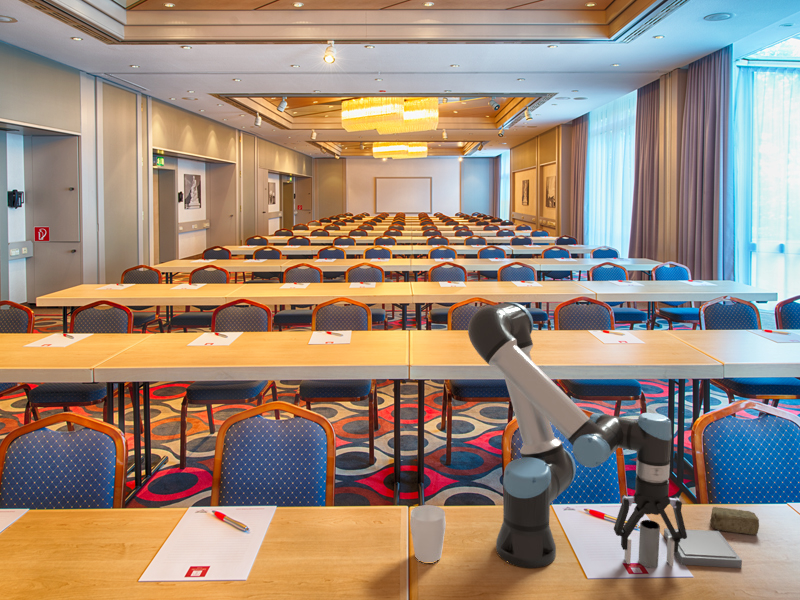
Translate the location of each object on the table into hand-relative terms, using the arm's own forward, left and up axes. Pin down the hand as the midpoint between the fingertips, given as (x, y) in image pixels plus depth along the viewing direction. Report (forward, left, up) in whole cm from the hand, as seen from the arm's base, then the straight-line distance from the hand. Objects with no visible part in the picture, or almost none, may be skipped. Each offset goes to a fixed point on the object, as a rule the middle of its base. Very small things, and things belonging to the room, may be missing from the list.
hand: (648, 562), depth 149 cm
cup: (-55, -3, 0) cm, 55 cm away
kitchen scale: (+15, +7, 0) cm, 17 cm away
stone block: (+28, +20, -1) cm, 34 cm away
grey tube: (0, 0, 0) cm, 0 cm away
